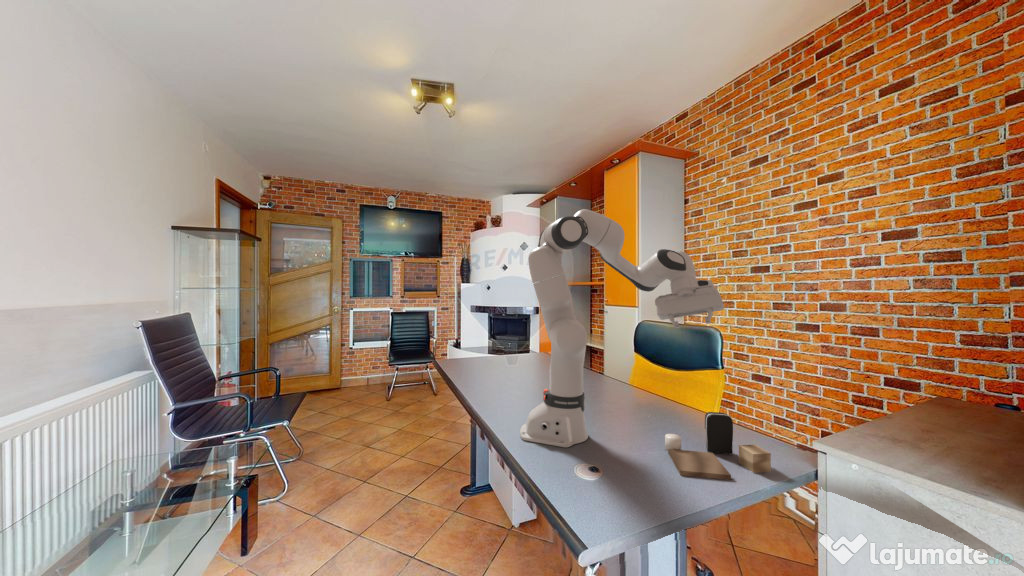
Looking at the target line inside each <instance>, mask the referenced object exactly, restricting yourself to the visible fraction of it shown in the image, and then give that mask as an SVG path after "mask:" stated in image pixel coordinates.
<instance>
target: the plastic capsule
mask: <svg viewBox="0 0 1024 576" xmlns="http://www.w3.org/2000/svg"><path fill="white" fill-rule="evenodd" d="M668 449H674V450H682V437H681V436H680V435H678V434H676V433H675V434H674V433H666V434H665V435H664V450H665V451H667V452H668Z"/></svg>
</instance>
